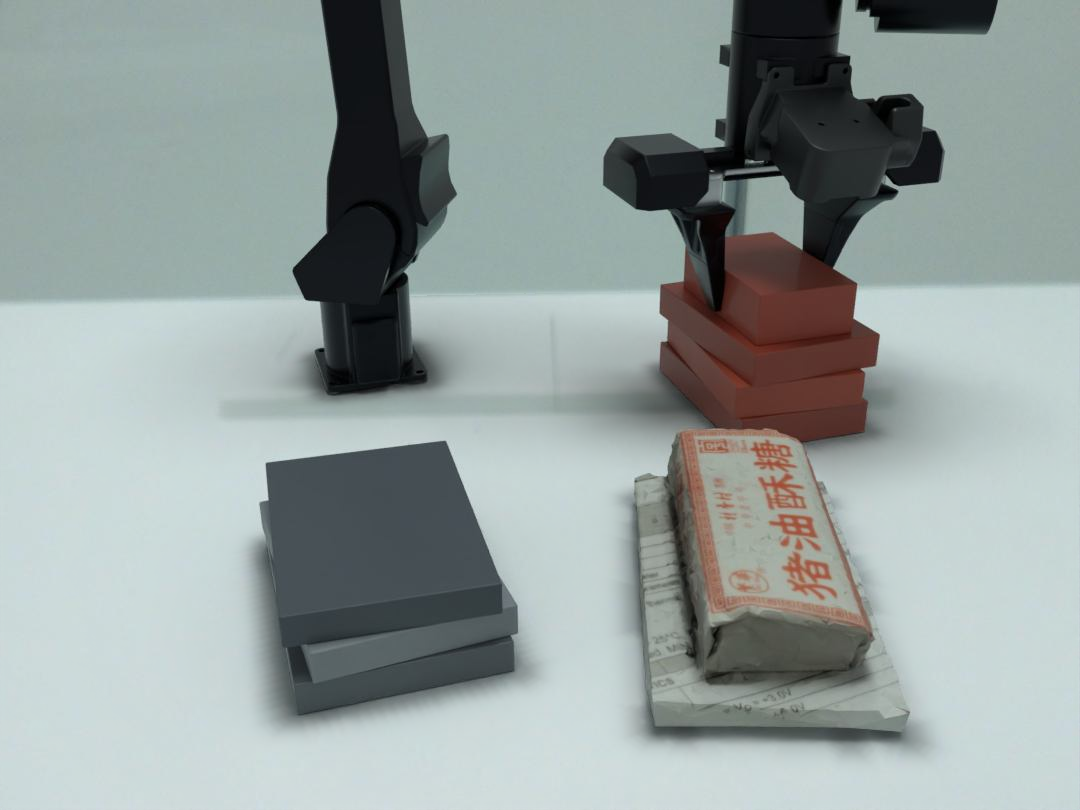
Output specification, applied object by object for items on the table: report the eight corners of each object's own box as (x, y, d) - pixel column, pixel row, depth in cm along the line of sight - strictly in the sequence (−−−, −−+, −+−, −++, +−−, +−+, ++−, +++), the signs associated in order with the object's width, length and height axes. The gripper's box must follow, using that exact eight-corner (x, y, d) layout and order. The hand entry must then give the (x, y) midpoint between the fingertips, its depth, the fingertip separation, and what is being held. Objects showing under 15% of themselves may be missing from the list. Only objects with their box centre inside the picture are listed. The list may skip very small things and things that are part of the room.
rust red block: (682, 287, 72) (685, 241, 71) (769, 276, 74) (772, 231, 73) (756, 346, 64) (760, 295, 62) (852, 333, 65) (858, 283, 64)
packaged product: (633, 416, 59) (831, 418, 58) (631, 498, 61) (821, 500, 60) (652, 633, 42) (926, 637, 42) (648, 735, 45) (908, 740, 44)
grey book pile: (261, 543, 57) (251, 464, 55) (449, 512, 60) (445, 435, 58) (291, 719, 46) (280, 626, 44) (523, 671, 48) (521, 582, 46)
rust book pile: (651, 368, 76) (654, 282, 73) (772, 351, 78) (779, 267, 75) (736, 455, 65) (743, 357, 62) (873, 432, 67) (886, 337, 65)
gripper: (685, 65, 52) (671, 377, 59) (1031, 43, 57) (981, 333, 64) (601, 32, 62) (597, 303, 69) (903, 15, 67) (872, 270, 74)
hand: (762, 303), depth 69 cm, fingers closed on rust red block, 6 cm apart
